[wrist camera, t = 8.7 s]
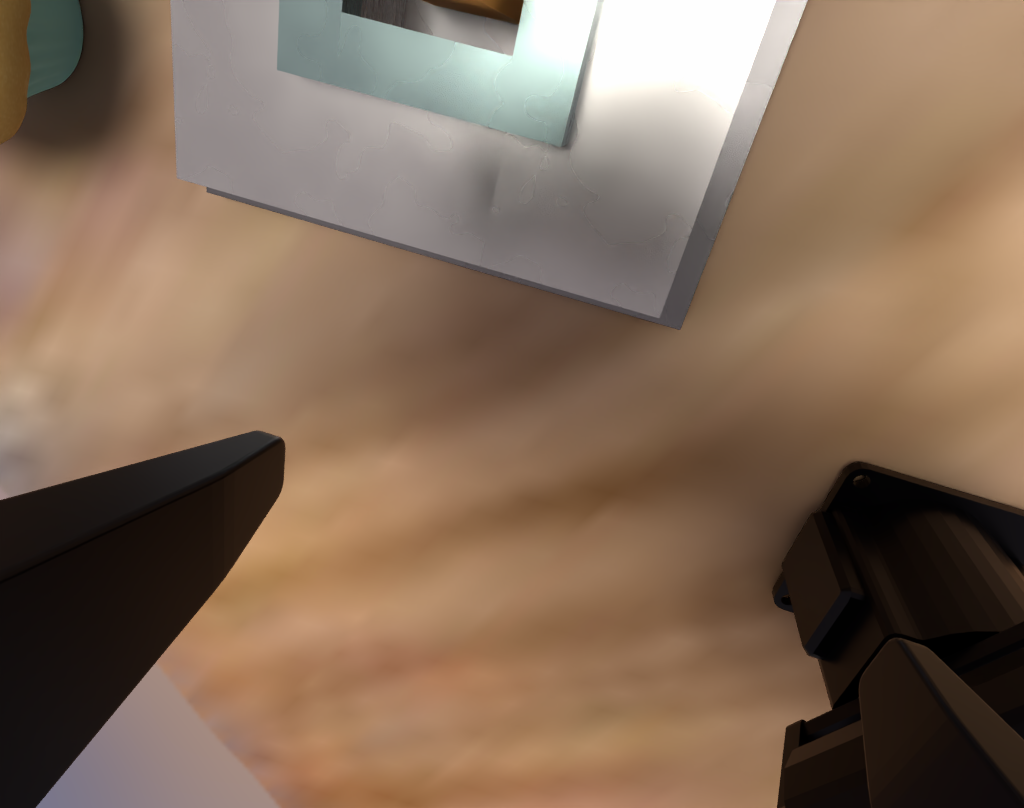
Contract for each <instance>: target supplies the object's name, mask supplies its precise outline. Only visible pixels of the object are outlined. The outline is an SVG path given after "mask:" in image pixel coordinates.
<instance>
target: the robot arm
mask: <svg viewBox="0 0 1024 808" xmlns="http://www.w3.org/2000/svg"><path fill="white" fill-rule="evenodd" d="M284 464H285V442H284V440H283V439H282V438H281V437H278V436H275V435H272V434H269V433H266V432H263V431H252V432H249V433H245V434H241V435H238V436H234V437H230V438H227V439H223V440H219V441H216V442H212V443H208V444H205V445H201V446H197V447H194V448H190V449H186V450H183V451H179V452H175V453H172V454H168V455H164V456H161V457H157V458H153V459H150V460H146V461H142V462H139V463H135V464H131V465H128V466H124V467H120V468H117V469H113V470H109V471H106V472H102V473H98V474H95V475H91V476H87V477H84V478H80V479H76V480H73V481H69V482H65V483H62V484H58V485H54V486H51V487H47V488H43V489H40V490H36V491H32V492H29V493H25V494H21V495H18V496H14V497H10V498H7V499H3V500H0V808H36V806H37V805H38V804H39V803H40V801H41V800H42V799H43V798H44V797H45V796H46V794H47V793H48V792H49V791H50V789H51V788H52V787H53V786H54V785H55V784H56V782H57V781H58V780H59V779H60V778H61V776H62V775H63V774H64V773H65V771H66V770H67V769H68V768H69V766H70V765H71V764H72V763H73V762H74V761H75V759H76V758H77V757H78V756H79V755H80V753H81V752H82V751H83V750H84V749H85V747H86V746H87V745H88V744H89V742H90V741H91V740H92V739H93V738H94V736H95V735H96V734H97V733H98V732H99V730H100V729H101V728H102V727H103V725H104V724H105V723H106V722H107V721H108V719H109V718H110V717H111V716H112V715H113V713H114V712H115V711H116V710H117V708H118V707H119V706H120V705H121V704H122V702H123V701H124V700H125V699H126V698H127V696H128V695H129V694H130V693H131V692H132V690H133V689H134V688H135V687H136V686H137V684H138V683H139V682H140V681H141V680H142V678H143V677H144V676H145V675H146V673H147V672H148V671H149V670H150V669H151V667H152V666H153V665H154V664H155V663H156V661H157V660H158V659H159V658H160V657H161V655H162V654H163V653H164V652H165V651H166V649H167V648H168V647H169V646H170V644H171V643H172V642H173V641H174V640H175V638H176V637H177V636H178V635H179V634H180V632H181V631H182V630H183V629H184V628H185V626H186V625H187V624H188V623H189V621H190V620H191V619H192V618H193V617H194V615H195V614H196V613H197V612H198V611H199V609H200V608H201V607H202V606H203V605H204V603H205V602H206V601H207V600H208V599H209V597H210V596H211V595H212V594H213V592H214V591H215V590H216V589H217V587H218V586H219V585H220V584H221V582H222V581H223V580H224V578H225V577H226V576H227V574H228V573H229V571H230V570H231V568H232V567H233V566H234V564H235V562H236V561H237V559H238V558H239V556H240V555H241V553H242V552H243V550H244V549H245V547H246V546H247V544H248V543H249V541H250V540H251V538H252V537H253V535H254V534H255V532H256V530H257V529H258V527H259V526H260V524H261V523H262V521H263V520H264V518H265V517H266V515H267V514H268V512H269V511H270V509H271V508H272V506H273V505H274V503H275V502H276V500H277V498H278V497H279V495H280V493H281V490H282V487H283V481H284ZM860 475H866V478H865V479H864V480H862V481H859V482H857V481H853V480H854V479H855V478H856V477H857V476H860ZM782 569H783V572H782V574H781V576H780V577H779V579H778V581H777V583H776V584H775V586H774V588H773V591H772V594H773V598H774V602H775V604H776V605H777V606H778V607H779V608H781V609H783V610H786V611H790V612H793V613H794V615H795V619H796V623H797V627H798V630H799V634H800V638H801V642H802V646H803V648H804V649H805V651H806V653H807V655H808V656H811V657H814V658H817V659H818V661H819V665H820V668H821V672H822V675H823V679H824V682H825V686H826V690H827V693H828V697H829V700H830V704H831V707H832V710H831V711H829V712H826V713H824V714H822V715H820V716H818V717H816V718H813V719H811V720H809V721H807V722H806V721H805V720H800V721H798V722H795V723H793V724H791V725H789V726H787V727H786V732H785V741H784V750H783V759H782V768H781V777H780V786H779V795H778V804H777V808H1024V511H1023V510H1020V509H1017V508H1013V507H1010V506H1007V505H1003V504H1000V503H997V502H993V501H990V500H987V499H983V498H980V497H977V496H973V495H970V494H967V493H964V492H960V491H957V490H954V489H950V488H947V487H944V486H940V485H937V484H934V483H930V482H927V481H924V480H920V479H917V478H914V477H911V476H907V475H904V474H901V473H897V472H894V471H891V470H887V469H884V468H881V467H877V466H874V465H871V464H867V463H862V462H857V463H852V464H851V465H849V466H847V467H846V468H845V469H844V470H843V472H842V473H841V475H840V477H839V478H838V480H837V482H836V484H835V485H834V487H833V489H832V490H831V492H830V494H829V495H828V497H827V499H826V500H825V502H824V504H823V505H822V507H821V509H820V510H817V511H816V512H814V513H812V514H811V515H810V517H809V518H808V520H807V522H806V524H805V525H804V527H803V529H802V530H801V532H800V534H799V535H798V537H797V539H796V540H795V542H794V544H793V546H792V547H791V549H790V551H789V552H788V554H787V556H786V557H785V559H784V561H783V563H782ZM787 594H788V595H789V596H790V597H783V596H784V595H787Z"/></svg>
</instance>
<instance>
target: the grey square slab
mask: <svg viewBox="0 0 1024 808" xmlns="http://www.w3.org/2000/svg"><path fill="white" fill-rule="evenodd" d="M807 1H808V0H524V2H523V7H522V12H521V17H520V23H519V25H518V24H513V23H509V22H505V21H500V20H496V19H492V18H487V17H483V16H479V15H474V14H470V13H465V12H461V11H457V10H452V9H448V8H444V7H439V6H435V5H432V4H430V3H427V2H425V1H422V0H171V27H172V55H173V83H174V111H175V139H176V166H177V178H178V179H181V180H185V181H188V182H192V183H195V184H199V185H202V186H205V187H207V192H208V193H212V194H215V195H218V196H222V197H225V198H229V199H232V200H236V201H239V202H243V203H246V204H249V205H253V206H256V207H260V208H263V209H267V210H270V211H273V212H277V213H280V214H284V215H287V216H291V217H294V218H297V219H301V220H304V221H308V222H311V223H315V224H318V225H321V226H325V227H328V228H332V229H335V230H339V231H342V232H345V233H349V234H352V235H356V236H359V237H363V238H366V239H370V240H373V241H376V242H380V243H383V244H387V245H390V246H394V247H397V248H400V249H404V250H407V251H411V252H414V253H418V254H421V255H424V256H428V257H431V258H435V259H438V260H442V261H445V262H448V263H452V264H455V265H459V266H462V267H466V268H469V269H472V270H476V271H479V272H483V273H486V274H490V275H493V276H497V277H500V278H503V279H507V280H510V281H514V282H517V283H521V284H524V285H527V286H531V287H534V288H538V289H541V290H545V291H548V292H551V293H555V294H558V295H562V296H565V297H569V298H572V299H575V300H579V301H582V302H586V303H589V304H593V305H596V306H599V307H603V308H606V309H610V310H613V311H617V312H620V313H624V314H627V315H630V316H634V317H637V318H641V319H644V320H648V321H651V322H654V323H658V324H661V325H665V326H668V327H672V328H675V329H678V330H680V329H681V327H682V324H683V321H684V319H685V316H686V314H687V311H688V308H689V306H690V303H691V301H692V298H693V295H694V293H695V290H696V288H697V285H698V283H699V280H700V277H701V275H702V272H703V270H704V267H705V264H706V262H707V259H708V257H709V254H710V252H711V249H712V246H713V244H714V241H715V239H716V236H717V233H718V231H719V228H720V226H721V223H722V220H723V218H724V215H725V213H726V210H727V208H728V205H729V202H730V200H731V197H732V195H733V192H734V189H735V187H736V184H737V182H738V179H739V176H740V174H741V171H742V169H743V166H744V164H745V161H746V158H747V156H748V153H749V151H750V148H751V145H752V143H753V140H754V138H755V135H756V132H757V130H758V127H759V125H760V122H761V120H762V117H763V114H764V112H765V109H766V107H767V104H768V101H769V99H770V96H771V94H772V91H773V89H774V86H775V83H776V81H777V78H778V76H779V73H780V70H781V68H782V65H783V63H784V60H785V57H786V55H787V52H788V50H789V47H790V45H791V42H792V39H793V37H794V34H795V32H796V29H797V26H798V24H799V21H800V19H801V16H802V13H803V11H804V8H805V6H806V3H807Z"/></svg>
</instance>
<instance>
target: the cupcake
mask: <svg viewBox="0 0 1024 808" xmlns="http://www.w3.org/2000/svg"><path fill="white" fill-rule="evenodd" d="M82 45H83V21H82V14H81V9H80V5H79V1H78V0H0V144H2V143H4V142H5V141H7V140H8V139H10V138H11V137H12V136H14V135H15V133H16V132H17V131H18V129H19V128H20V126H21V124H22V121H23V119H24V116H25V113H26V109H27V98H28V97H30V96H32V95H35V94H37V93H40V92H42V91H45V90H48V89H50V88H53V87H56V86H58V85H59V84H61V83H63V82H64V81H65V80H66V79H67V78H68V77H69V76H70V75H71V74H72V72H73V71H74V69H75V68H76V66H77V64H78V61H79V59H80V55H81V51H82Z"/></svg>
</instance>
